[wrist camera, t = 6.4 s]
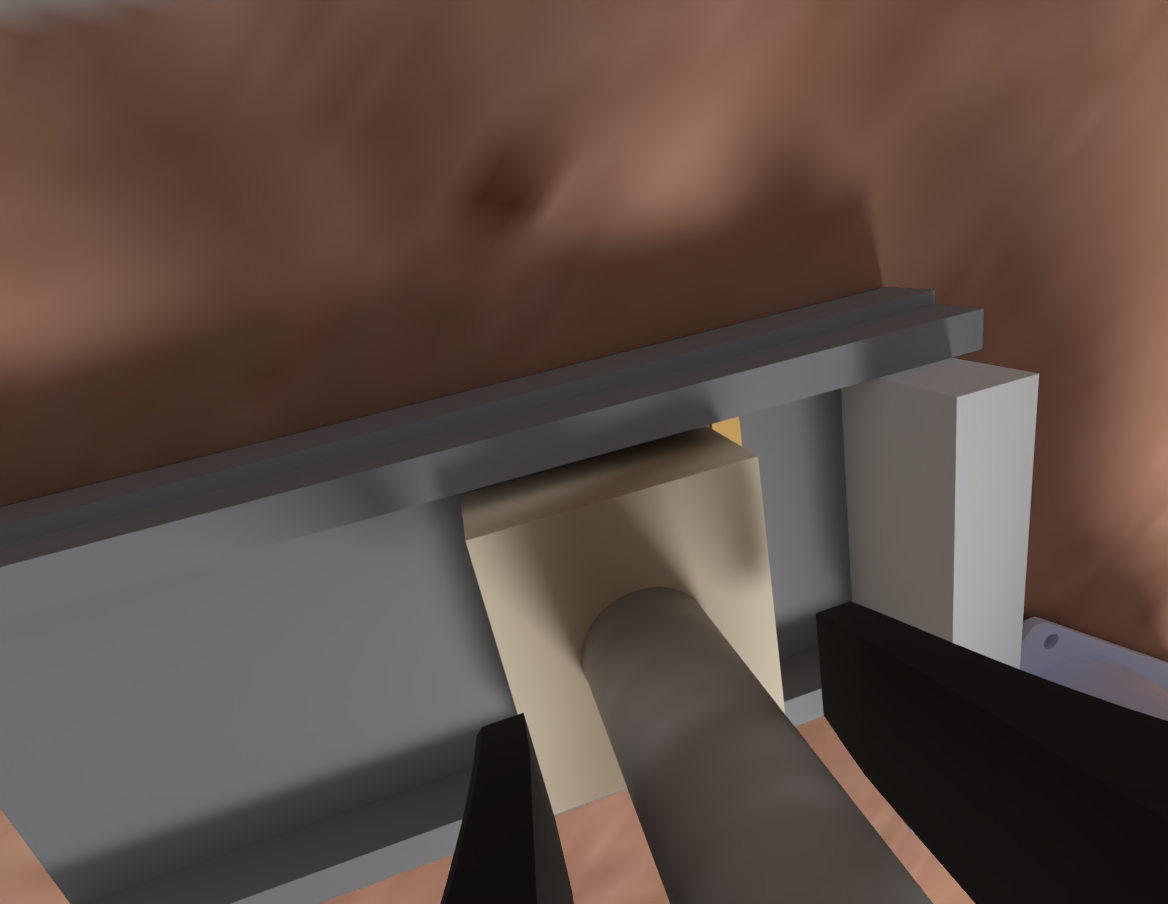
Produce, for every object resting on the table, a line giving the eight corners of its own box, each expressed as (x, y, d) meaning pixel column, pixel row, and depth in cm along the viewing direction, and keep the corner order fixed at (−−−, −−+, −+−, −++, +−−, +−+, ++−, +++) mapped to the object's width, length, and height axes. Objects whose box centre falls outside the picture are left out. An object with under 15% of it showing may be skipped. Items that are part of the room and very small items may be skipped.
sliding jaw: (707, 425, 12) (1160, 695, 4) (739, 666, 14) (1088, 1125, 7) (460, 494, 11) (514, 957, 4) (532, 739, 13) (661, 1352, 6)
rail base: (884, 287, 14) (1079, 297, 10) (892, 609, 17) (1043, 723, 13) (-95, 530, 11) (-435, 702, 6) (133, 874, 14) (2, 1140, 10)
